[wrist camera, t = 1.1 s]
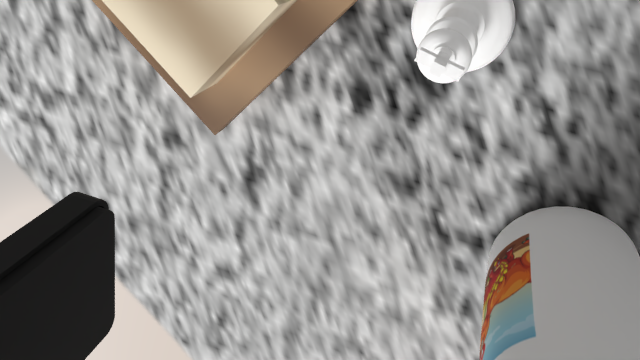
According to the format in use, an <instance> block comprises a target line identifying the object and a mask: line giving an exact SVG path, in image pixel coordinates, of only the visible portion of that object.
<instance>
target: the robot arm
mask: <svg viewBox="0 0 640 360" xmlns="http://www.w3.org/2000/svg"><path fill="white" fill-rule="evenodd" d="M114 317H115V218H114V213H113V212H112V211H110V210H109V208H108V204H107V202H106V201H104V200H102V199H98V198H95V197H92V196H89V195H86V194H83V193H80V192H74V193H71V194H69V195H68V196H67V197H65V198H64V199H62V200H61V201H59V202H58V203H56V204H55V205H54V206H52V207H51V208H49V209H48V210H46V211H45V212H44V213H42V214H41V215H39V216H38V217H36V218H35V219H33V220H32V221H31V222H29V223H28V224H26V225H25V226H23V227H22V228H20V229H19V230H17V231H16V232H15V233H13V234H12V235H10V236H9V237H7V238H6V239H4V240H3V241H2V242H0V360H85V359H86V357H87V356H88V355H89V354H90V353H91V352H92V351H93V350H94V349H95V347H96V346H97V345H98V344H99V343H100V342H101V341H102V340H103V338H104V337H105V336H106V335H107V334H108V332H109V331H110V329H111V327H112V324H113V321H114Z"/></svg>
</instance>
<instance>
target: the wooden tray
mask: <svg viewBox="0 0 640 360" xmlns="http://www.w3.org/2000/svg"><path fill="white" fill-rule="evenodd" d="M92 1H93V2H94V3H95V4H96V5H97V6H98V7H99V8H100V9H101V11H102V12H103V13H104V14H105V15H106V16H107V17H108V18H109V19H110V20H111V22H112V23H113V24H114V25H115V26H116V27H117V28H118V29H119V30H120V31H121V33H122V34H123V35H124V36H125V37H126V38H127V39H128V40H129V41H130V42H131V44H132V45H133V46H134V47H135V48H136V49H137V50H138V51H139V52H140V53H141V54H142V56H143V57H144V58H145V59H146V60H147V61H148V62H149V63H150V64H151V65H152V67H153V68H154V69H155V70H156V71H157V72H158V73H159V74H160V75H161V76H162V78H163V79H164V80H165V81H166V82H167V83H168V84H169V85H170V86H171V87H172V89H173V90H174V91H175V92H176V93H177V94H178V95H179V96H180V97H181V98H182V100H183V101H184V102H185V103H186V104H187V105H188V106H189V107H190V108H191V109H192V111H193V112H194V113H195V114H196V115H197V116H198V117H199V118H200V119H201V120H202V122H203V123H204V124H205V125H206V126H207V127H208V128H209V129H210V130H211V131H212V133H213V134H214V135H216V134H217V133H218V132H220V131H221V130H223V129H224V128H225V127H226V126H227V125H228V124H229V123H230V122H231V121H232V120H233V119H234V118H235V117H236V116H238V115H239V114H240V113H241V112H242V111H243V110H244V109H245V108H246V107H247V106H248V105H249V104H250V103H251V102H252V101H253V100H254V99H255V98H256V97H257V96H258V95H259V94H260V93H262V92H263V91H264V90H265V89H266V88H267V87H268V86H269V85H270V84H271V83H272V82H273V81H274V80H275V79H276V78H277V77H278V76H279V75H280V74H281V73H282V72H283V71H284V70H285V69H287V68H288V67H289V66H290V65H291V64H292V63H293V62H294V61H295V60H296V59H297V58H298V57H299V56H300V55H301V54H302V53H303V52H304V51H305V50H306V49H307V48H308V47H309V46H311V45H312V44H313V43H314V42H315V41H316V40H317V39H318V38H319V37H320V36H321V35H322V34H323V33H324V32H325V31H326V30H327V29H328V28H329V27H330V26H331V25H332V24H333V23H334V22H336V21H337V20H338V19H339V18H340V17H341V16H342V15H343V14H344V13H345V12H346V11H347V10H348V9H349V8H350V7H351V6H352V5H353V4H354V3H355V2H356V1H357V0H92Z"/></svg>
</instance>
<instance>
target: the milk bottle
mask: <svg viewBox="0 0 640 360" xmlns="http://www.w3.org/2000/svg"><path fill="white" fill-rule="evenodd" d="M479 360H640V256H639V254H638V252H637V249H636V247H635V245H634V243H633V242H632V240H631V239H630V237H629V236H628V235H627V234H626V233H625V232H624V231H623V230H622V229H621V228H620V227H619V226H618V225H617V224H615V223H614V222H612V221H611V220H609V219H608V218H606V217H604V216H602V215H599V214H597V213H594V212H592V211H589V210H586V209H581V208H575V207H570V206H567V207H560V206H554V207H548V208H541V209H538V210H535V211H532V212H529V213H526V214H525V215H523V216H521V217H519V218H517V219H515V220H514V221H513V222H511V223H510V224H509V225H507V226H506V227H505V228H504V229H503V230H502V231H501V232H500V234H499V235H498V236H497V238H496V239H495V241H494V243H493V245H492V247H491V250H490V253H489V259H488V265H487V273H486V284H485V295H484V307H483V319H482V331H481V345H480V359H479Z"/></svg>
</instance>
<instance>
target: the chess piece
mask: <svg viewBox="0 0 640 360" xmlns="http://www.w3.org/2000/svg"><path fill="white" fill-rule="evenodd" d="M514 26H515V8H514V3H513V0H416V2H415V5H414V8H413V12H412V19H411V29H412V35H413V39H414V42H415V44H416V46H417V48H418V49H417V56H416V58H415V60H414V61H416V62H417V64H418V67H419V69H420V71H421V72H422V73H423V74H424V75H425V76H426V77H427V78H428V79H430V80H432V81H434V82H437V83H450V82H453V81H457V82H458V81H459V79H460V78H461V77H462V76H463V75H464V74H465V73H466V72H469V71H473V70H477V69H479V68H482V67H484V66H486V65H487V64H489V63H490V62H492V61H493V60H494V59H495V58H496V57H498V56H499V55H500V54H501V52H502V51H503V50H504V49H505V47H506V46H507V44H508V43H509V41H510V39H511V36H512V33H513V30H514Z"/></svg>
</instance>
